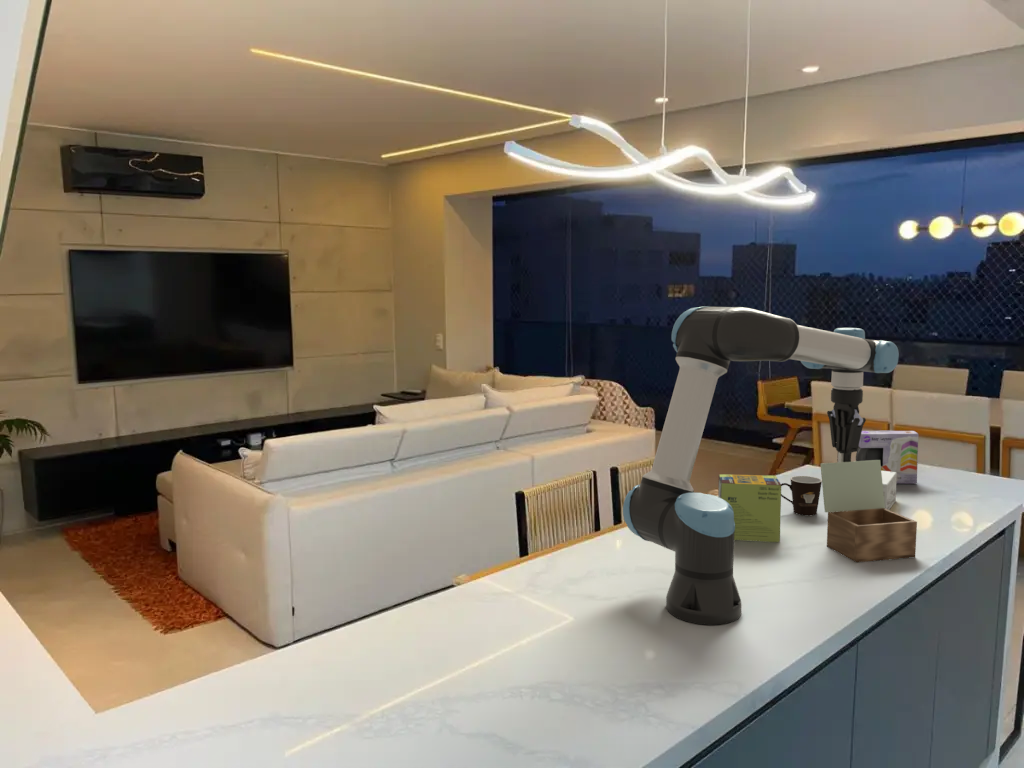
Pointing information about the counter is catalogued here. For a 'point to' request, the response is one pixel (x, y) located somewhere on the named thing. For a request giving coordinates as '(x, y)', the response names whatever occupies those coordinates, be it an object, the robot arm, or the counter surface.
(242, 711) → the counter surface
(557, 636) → the counter surface
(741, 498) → the protein box
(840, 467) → the lid
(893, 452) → the cake pan box
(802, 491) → the coffee mug
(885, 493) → the supplement box
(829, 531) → the crate
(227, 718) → the counter surface
